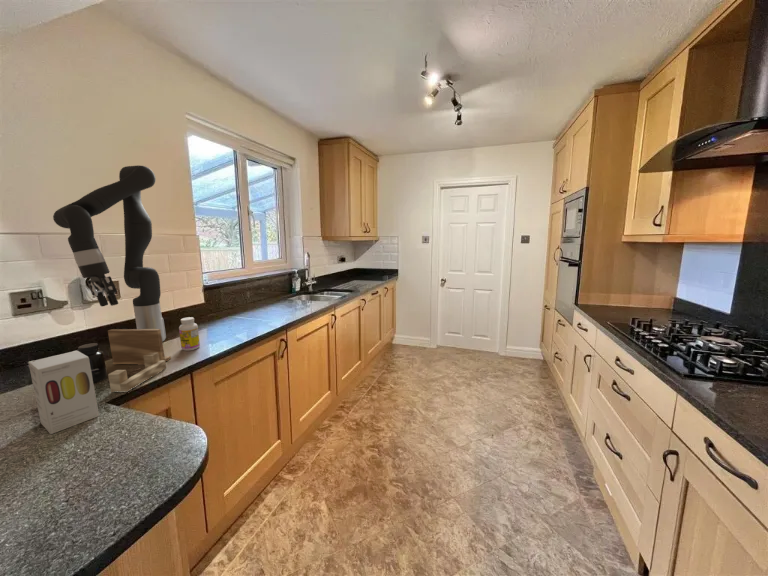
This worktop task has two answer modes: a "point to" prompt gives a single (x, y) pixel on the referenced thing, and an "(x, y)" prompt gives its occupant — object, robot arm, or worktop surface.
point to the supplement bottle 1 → (95, 361)
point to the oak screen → (135, 345)
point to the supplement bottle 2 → (189, 334)
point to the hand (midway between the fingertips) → (109, 305)
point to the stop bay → (124, 384)
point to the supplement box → (64, 390)
